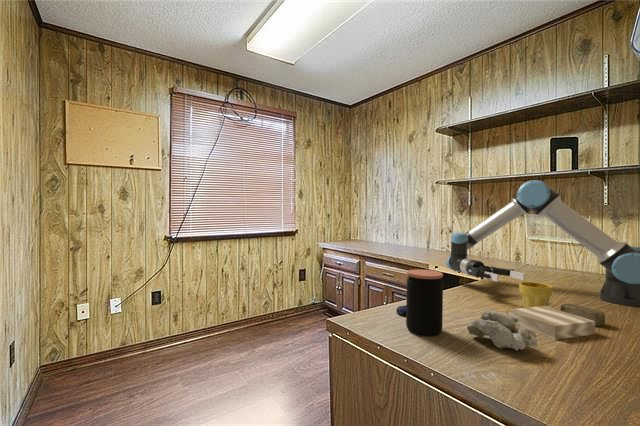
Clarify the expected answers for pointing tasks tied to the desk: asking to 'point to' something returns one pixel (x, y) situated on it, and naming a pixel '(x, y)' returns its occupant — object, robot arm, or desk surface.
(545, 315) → the birch block
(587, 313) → the stone block
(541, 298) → the plant pot
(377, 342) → the desk surface
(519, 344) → the mineral
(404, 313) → the race car
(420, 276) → the coffee jar
